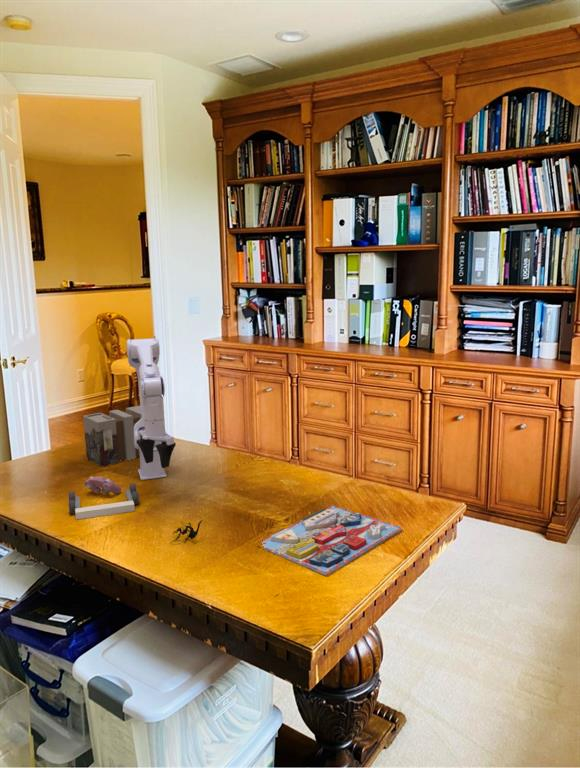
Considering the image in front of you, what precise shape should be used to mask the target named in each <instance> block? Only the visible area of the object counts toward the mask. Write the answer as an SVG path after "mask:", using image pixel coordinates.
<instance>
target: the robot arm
mask: <svg viewBox="0 0 580 768" xmlns="http://www.w3.org/2000/svg"><path fill="white" fill-rule="evenodd" d="M126 351H127V352H126V353H127V354H126V355H127V362H128V364H129V367H132V368H133V369H135V372H136V374H137V382H138V383H137V384H138V394H139V404H140V405H139V406H140V407H141V419H140V420H139V421H138V422H137V423H136V424H135V425H134V444H135V448H137V449H139V453H140V457H139V466H140V468H139V469H137V472H138V474H139V478H140V480H142V481H143V480H151V479H160V478H167V473H166V471H165V468H169V467H170V463H171V462H170V461H171V458H172V454H173V452H174V449H175V447H176V446H177V445H176V444H177V443H176V442H175V437H174V436H172V435H170V434H168V433H167V430H166V424H165V423H166V422H165V406H164V405H165V404H164V397H165V392H166V388H165V382H164V377H163V376H162V375H160V370H159V366H158V364H159V360H160V355H161V353H160V341H159V339H158V338H157V337H154V338H137V339H129V338H128V339H127V341H126ZM140 428H145V429H140Z"/></svg>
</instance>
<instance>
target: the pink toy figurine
mask: <svg viewBox="0 0 580 768" xmlns="http://www.w3.org/2000/svg"><path fill="white" fill-rule="evenodd" d="M84 486H85V487H86V488H87V489H89V490H91V491H92V492H93V493H95V494H96V493H98V494H100V493H102V494H103V495H105V496H108V495H109V494H110V493H111V494H112V493H113V494H114V495H115V494H116V495H117V494H120V493H121V492H122V488H121V486H120V485H118V484H116V483H115V482H114V481H113V480H111V479H109V478H106V477H104V476H101V475H99V476H98V475H97V476H90V477H88V479H86V480H85V482H84ZM98 494H97V495H98Z"/></svg>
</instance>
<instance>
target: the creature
mask: <svg viewBox="0 0 580 768" xmlns="http://www.w3.org/2000/svg"><path fill="white" fill-rule="evenodd" d="M203 521H204V519H201V520H200V521H199V522H198V524H197V528H196V530H194V527H192V523H190V522H188V525H185V524H184V523H183V522H182V521H181V520H180V523H181V525H182V527H181V526H180V527H178V528H177V529H176V530H174V531H173V532H172V534H177V533H178V532H179V534H178V535H177V536H176V538H175V539H174V540H172V541H171V543H174V542H176V541H177V542H178V541H180V542H182V543H187V540H188V539H191V540H193V539H195V538H196V537H197V536H198V534H199V533H198V532H199V530H200V525H201V523H202V522H203ZM188 532H189V533H188ZM181 535H182V536H184V535H186V539H185V541H183V540H181V539H179V538H180V537H181ZM178 539H179V540H178ZM173 541H174V542H173Z"/></svg>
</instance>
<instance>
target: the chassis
mask: <svg viewBox="0 0 580 768" xmlns="http://www.w3.org/2000/svg"><path fill="white" fill-rule="evenodd" d="M125 496H127V497H126V501H121V502H120V501H118V502H112V503H105V504H98V505H93V506H92V505H91V506H85V507H84V506H83V507H81V500H80V495H79V496H76V492H75V491H68V511H69V512H68V513H69V515H70V514H75V521H76V520H84V519H90V518H97V517H104V516H109V515H110V516H111V515H116V514H124V513H130V512H136V511H135V510H136V509H135V505H139V504H140V496H139V492H138V491H137V484H136V483H130V484H129V489H125ZM127 500H128V501H127Z"/></svg>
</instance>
